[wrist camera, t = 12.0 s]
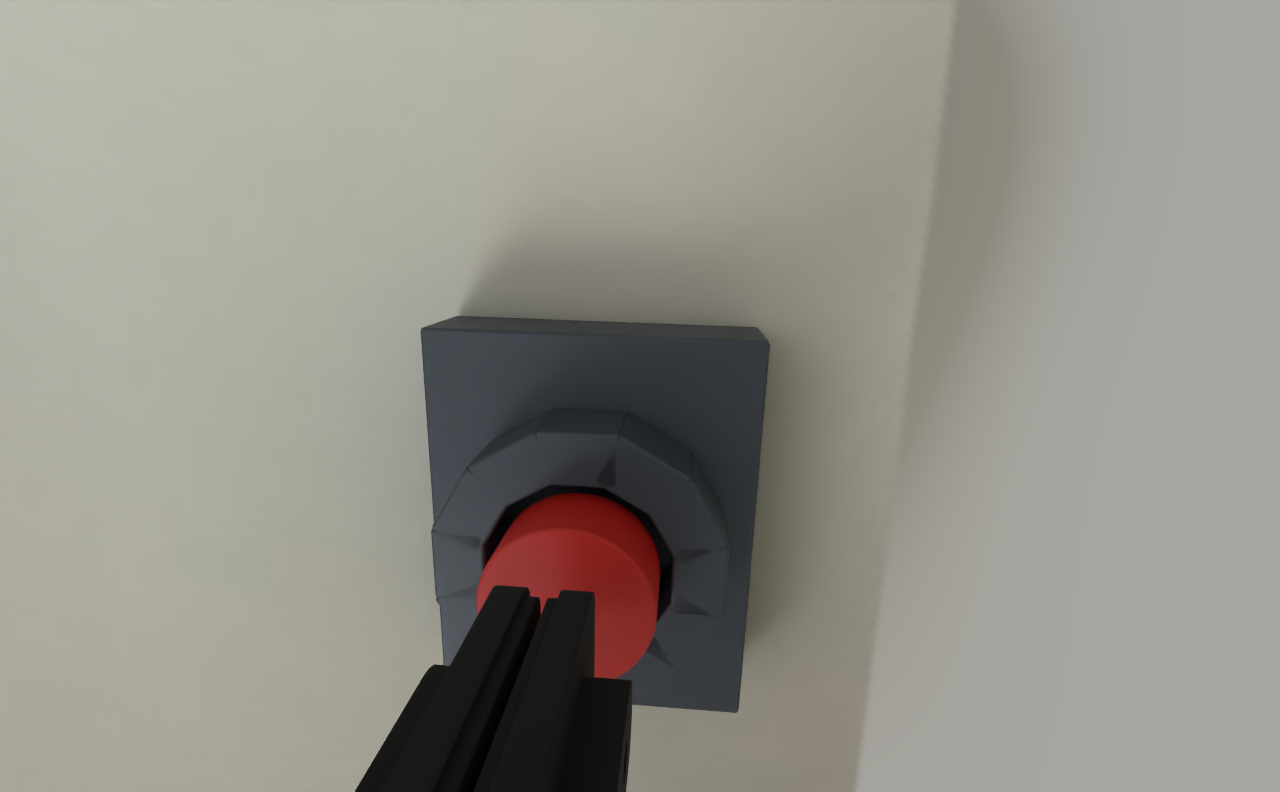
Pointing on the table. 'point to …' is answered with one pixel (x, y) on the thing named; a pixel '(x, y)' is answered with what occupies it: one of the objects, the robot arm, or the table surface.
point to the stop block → (606, 469)
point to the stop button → (585, 569)
